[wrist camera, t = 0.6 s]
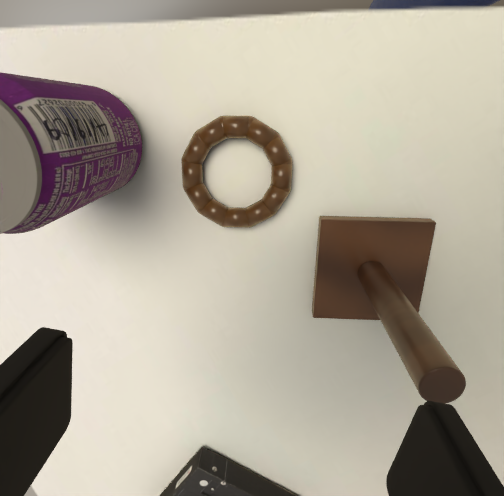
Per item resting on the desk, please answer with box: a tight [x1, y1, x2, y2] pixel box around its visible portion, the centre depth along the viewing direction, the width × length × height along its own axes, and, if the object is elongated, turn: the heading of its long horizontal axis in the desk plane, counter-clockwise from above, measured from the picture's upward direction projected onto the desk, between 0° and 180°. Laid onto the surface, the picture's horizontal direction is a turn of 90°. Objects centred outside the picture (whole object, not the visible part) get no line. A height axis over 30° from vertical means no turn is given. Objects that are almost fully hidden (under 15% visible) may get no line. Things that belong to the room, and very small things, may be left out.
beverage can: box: [0, 73, 142, 234], centre depth 20 cm, size 7×7×12 cm
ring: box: [182, 116, 292, 227], centre depth 25 cm, size 8×8×1 cm
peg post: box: [312, 216, 466, 403], centre depth 22 cm, size 8×8×13 cm
